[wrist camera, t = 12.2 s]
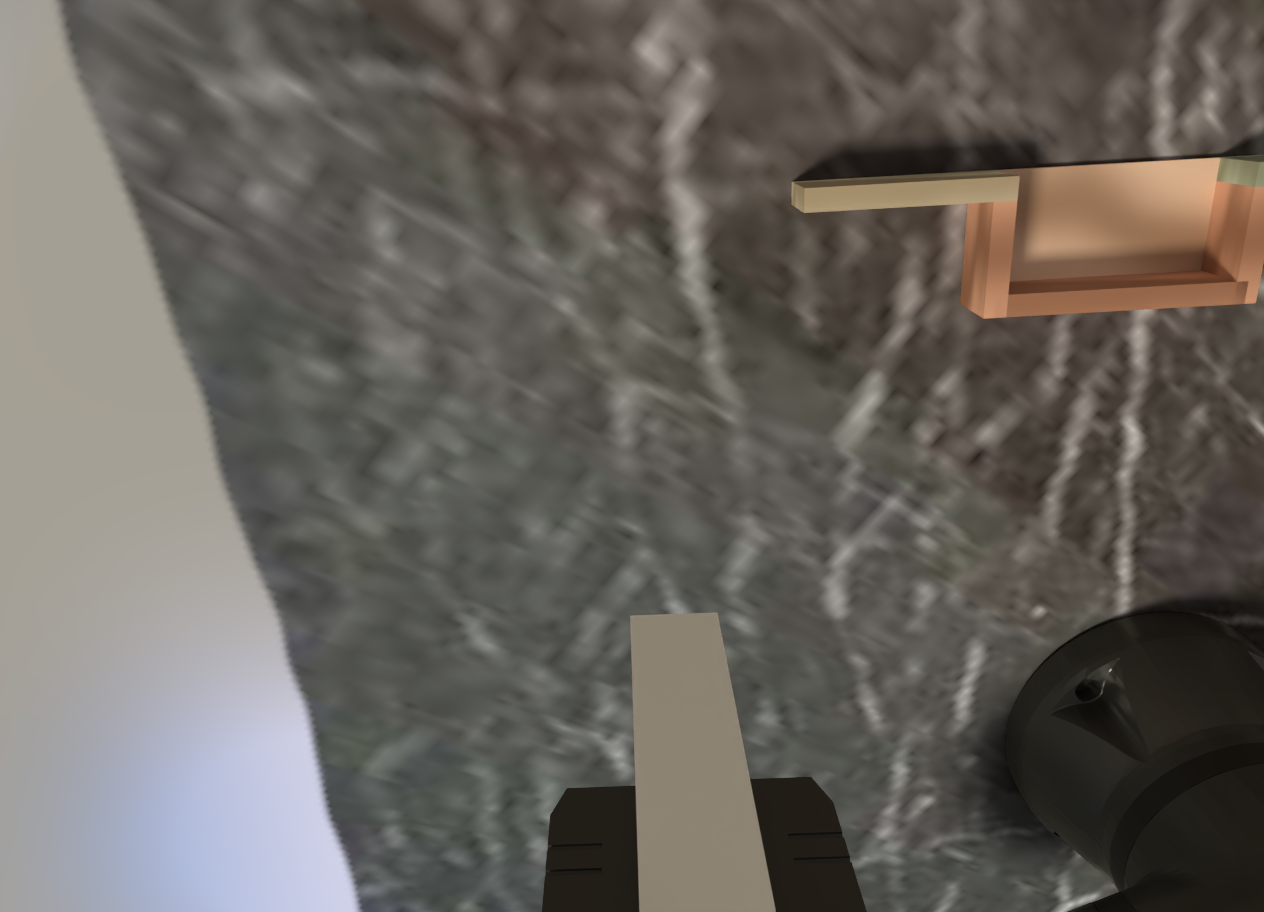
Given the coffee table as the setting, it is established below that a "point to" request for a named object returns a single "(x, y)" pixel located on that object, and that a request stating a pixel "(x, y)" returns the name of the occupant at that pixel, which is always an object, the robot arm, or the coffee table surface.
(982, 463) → the coffee table surface
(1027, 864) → the coffee table surface
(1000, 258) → the trap box
